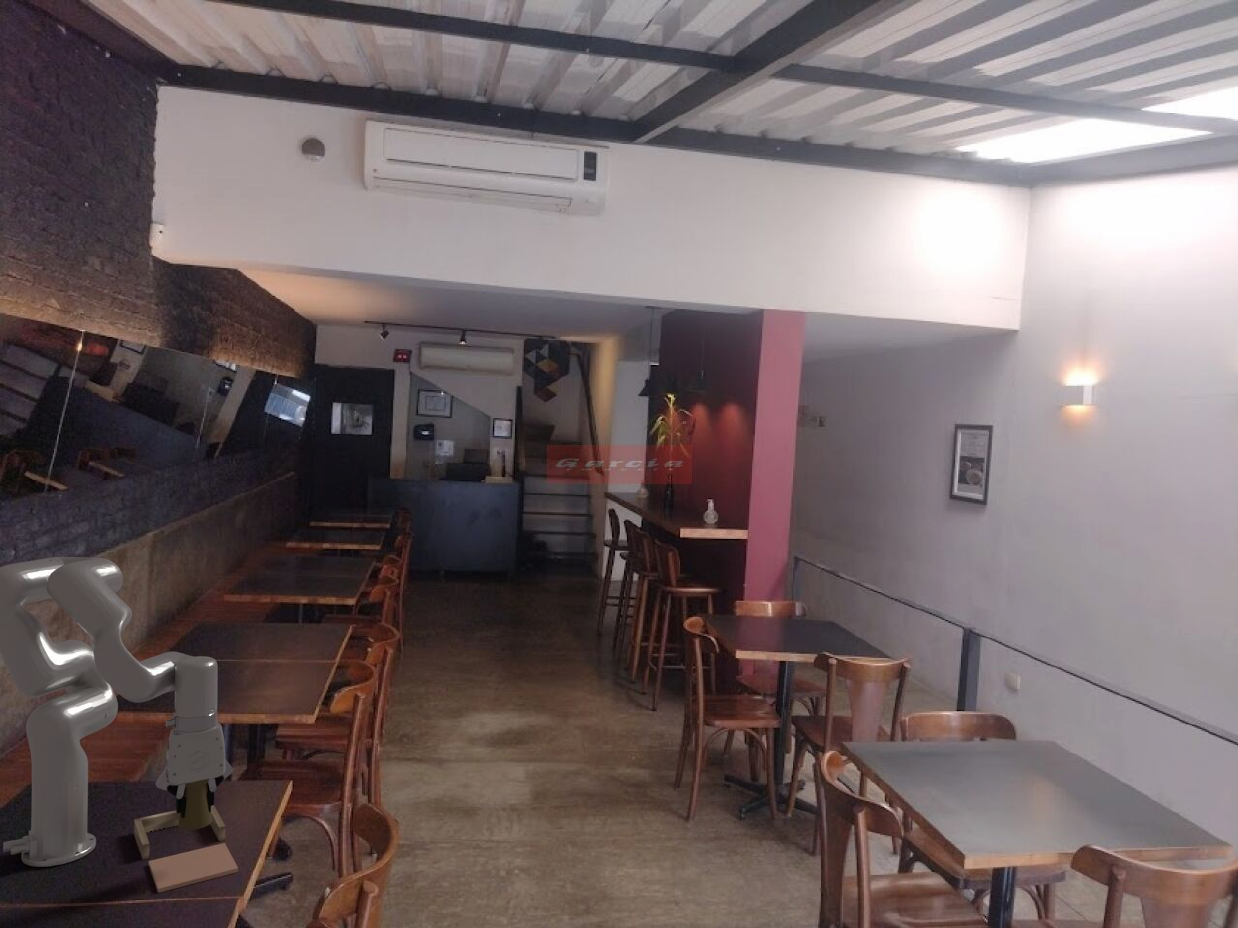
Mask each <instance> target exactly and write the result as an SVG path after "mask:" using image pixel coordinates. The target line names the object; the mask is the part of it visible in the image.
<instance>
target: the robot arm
mask: <svg viewBox="0 0 1238 928" xmlns="http://www.w3.org/2000/svg"><path fill="white" fill-rule="evenodd" d="M123 577H124V575H123V573H122V570H121V568H120V567H119V566H118V565H117V564H116V563H115V562H113V561H112V560H110V559H109V558H108V559H107V558H104V557H83V556H81V557H80V556H79V557H76V556H75V557H74V556H54V557H53V556H52V557H47V558H41V559H35V560H28V561H21V562H16V563H11V564H7V565H4V566H1V567H0V655H1V658H2V660H3V662H4V664H5V667H6V668H7V672H9V675H10V677H11V679H12V681H13V684H14V685H15V688H16V689H17V691H18V692H19V693H20V694H21V696H22V695H23V696H24V697H26V698H33V699H34V698H39V697H44V696H47V695H50V694H52V693H54V692H57V691H60V690H63V689H64V690H65V692H66V693H65V694H62V695H60V696H57V697H55V698H53V699H49V700H48V701H46V702H44V703H42V704H40V705H39V706H37V708H35V709H33V711H32V712H31V713H30V715H29V716H28V718H27V721H26V726H25V730H26V737H27V741H28V742H27V743H28V746H29V751H30V757H31V759H30V761H31V817H30V818H31V823H30V825H31V826H30V830H28V835H25V836H22V838H20V839H15V840H14V839H12V840H9V841H7V840H6V841H4V842H2V843H3V844H2V845H3V847H2V850H3V853H8V852H10V855H11V856H12V855H16V854H19V853H21V861H22V863H23V864H25V865H27V866H30V867H37V868H40V867H42V868H43V867H46V868H47V867H54V866H60V865H64V864H67V863H72V862H73V861H77V860H78V859H81V858H83V857H85V856H86V855H88V854H90V853H91V852H92V851H93V850H94V849H95V847H96V846H97V839H96V836H95V835H93V834H91V833H89V832H88V813H89V812H88V807H89V806H88V805H89V803H88V802H89V801H88V800H89V798H88V797H89V790H88V789H89V761H88V755H87V754H86V752H85V750H84V749H83V748H82V746H81V743H80V742H81V741H80V740H81V739H83V738H85V737H87V736H89V735H91V734H93V733H96V732H98V731H101V730H102V729H103V728H105V727H108V726H109V725H110V724H111V723H112V722H113V721H114V720H115V718H116V717H117V715H118V710H119V709H118V708H119V703H118V699H117V696H116V694H118V695H119V696H121V697H122V698H124V699H126V701H129V702H132V703H145V702H148V701H150V700H153V699H155V698H158V697H159V696H161V695H163V694H166V693H170V692H173V691H174V713H173V716H172V718H169V719H166V720H165V727H166V728H168V727H170V728H172V729H171V730H170V733H169V738H168V742H167V743H168V744H167V750H166V759H165V760H166V761H165V768H164V769H163V771H162V772H161V774H160V775H159V777H158V778H157V780H156V782H155V786H156V788H158V789H160V790H162V791H166V792H169V794H172V796H174V797H175V810H176V813H179V814H180V813H181V818H184V817H185V809H186V798H185V797H184V789H185V784H188V783H193V782H197V781H203V780H208V779H209V781H208V783H207V786H208V793H207V800H208V809H209V812H211V806H213V805H214V806H215V792H216V790H217V788H218V787H219V786H220V784H221V783H222V782H223V781H224V779H227V777H229V776H230V775H232V774H233V772H234V770H235V769H234V768H233V767H232V765H231V764H230V763H229V762H228V760H227V759H226V748H225V737H224V732H223V731H224V730H223V727H222V724H221V723H219V722H218V680H219V679H218V667H219V666H218V662H217V661H216V659H215V658H213V657H210V656H206V655H205V656H203V655H201V656H200V655H199V656H198V655H197V656H193V655H188V654H185V653H182V652H178V651H166V652H163V653H160V654H158V655H155V656H151V657H149V658H146V659H143V660H141V661H139V660H138V659H137V658H136V657H135V656H133V654H131V652H130V651H129V650H128V649H127V648H126V647H125V645H124V642H123V641H122V636H121V634H122V632H123V631H124V630H125V628H126V627H127V626H128V625H129V623H130V622H131V620H132V617H133V611H132V609H131V607H130V606H129V605H128V604H127V603H125V601H124V600H122V598H120V597H119V595H117V594H116V593H118V592H119V591H120V589H121V587H122V585H123V581H124V578H123ZM49 599H52V600H53V601H54V602H55V603H56V604H57V605H58V606H59V607H60V608H61V609H62V610H63V611H64V612H65V613H66V615H68V616H69V617H70V618H71V619H72V620H73V621H74V622H75V623H76V624H77V625H78V626H79V627H80V628H81V629H82V630H83V632H85V633H86V634H87V635H88V637H90V639H91V641H92V647H91V646H90V645H89V644H88V643H86V642H84V641H81V640H80V639H79V640H77V639H66V640H62V641H59V642H53V640H52V639H51V636H50V635H49V633H48V630H47V628H46V626H45V624H44V623H43V621H42V620H41V619H40V618H39V617H38V616H37V615H35V614H34V613H33V612H32V611H30V610H28V609H27V608H26V607H25V606H26V605H28V604H31V603H37V602H41V601H45V600H49ZM115 693H116V694H115Z"/></svg>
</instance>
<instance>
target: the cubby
mask: <svg viewBox="0 0 1238 928" xmlns="http://www.w3.org/2000/svg"><path fill="white" fill-rule="evenodd" d="M211 815H212V822H211V823H210V824H209V826H210V827H211V829H212V831H213V833H214V835H215V837H216V838H217V840H218V842H222V841H225V840H226V824H225V823H224V821H223V819H222V818H221V816H220V814H219V811H218V810H217V808H216V806H215V804H214V805H213V806H211ZM179 816H180V814H179V813H176V809H175V810H172V811H167V812H162V813H157V814H152V815H148V816H143V817H142V816H141V817H138V818H134V819H133V835H134V838H135V841H136V844H137V847H138V851H139V853H140V857H141V860H142V861H143V860H146V859H150V841H149V838H148V835H147V833H151V832H150V831H152V832H155V831H154V830H156V831H160V830H159V829H161V830H164V829H163V828H165V829H168V828H169V827H170V828H174V827H178V823H179ZM173 826H174V827H173ZM170 828H169V829H170Z"/></svg>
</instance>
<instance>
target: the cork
mask: <svg viewBox="0 0 1238 928" xmlns="http://www.w3.org/2000/svg"><path fill="white" fill-rule="evenodd" d="M208 781H209V779H208V780H203V781H197V782H193V783H188V784H185V789H184V797H185V798H186V809H185V817H184V818H181V813H180V816H179V823H178V826H177V827H178V828H179V829H180V830H182V831H183V830H184V831H195V830H200V829H203V828H206V827H208V826H210V823H211V822H212V815H211V812H209V809H208V800H207V793H208V786H207V783H208Z"/></svg>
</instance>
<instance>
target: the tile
mask: <svg viewBox="0 0 1238 928" xmlns="http://www.w3.org/2000/svg"><path fill="white" fill-rule="evenodd" d="M148 868H149V870H150V874H151V877H152V878H153V879H152V880H153V882H154V886H155V888H156V891H157V893H158V894H159V893H163V892H167V891H171V890H175V889H178V888H182V887H186V886H191V885H194V884H198V883H202V882H204V881H209V880H213V879H216V878H217V879H218V878H220V877H225V876H228V875H231V874H236V873H238V872H239V867H238V865H237V863H236V862H235V859H234V858H233V856H232V854H231V852H230V849H229V848H228V847H227V845H226V842H223V843H219V844H215V845H210V846H206V847H202V848H197V849H193V850H190V851H186V852H182V853H181V852H180V853H177V854H173V855H169V856H165V857H161V858H156V859H153V860H148Z"/></svg>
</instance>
